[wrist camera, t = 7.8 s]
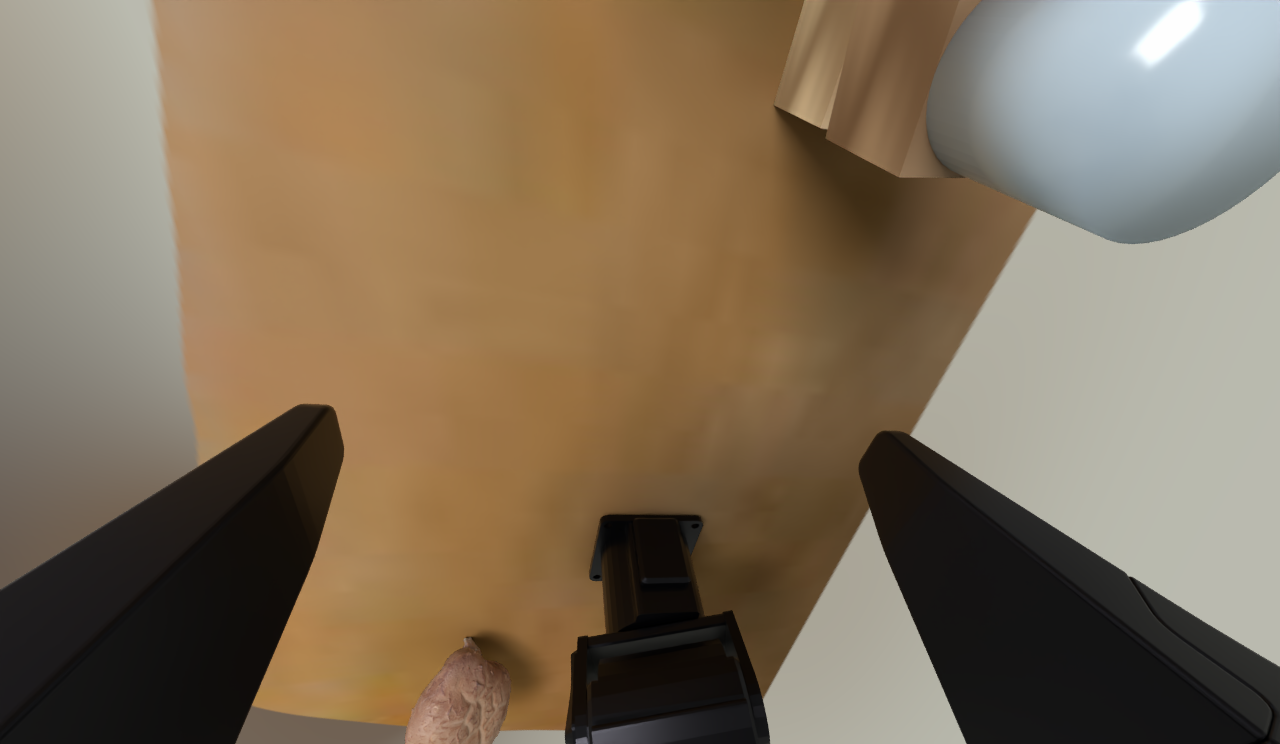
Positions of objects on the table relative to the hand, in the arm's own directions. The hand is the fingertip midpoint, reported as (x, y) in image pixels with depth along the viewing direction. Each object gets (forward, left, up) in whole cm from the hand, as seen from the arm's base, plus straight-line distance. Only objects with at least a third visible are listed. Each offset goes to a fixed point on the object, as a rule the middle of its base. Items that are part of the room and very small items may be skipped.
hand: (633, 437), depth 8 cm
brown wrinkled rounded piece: (-34, +5, -13) cm, 37 cm away
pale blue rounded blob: (+6, -8, -5) cm, 11 cm away
